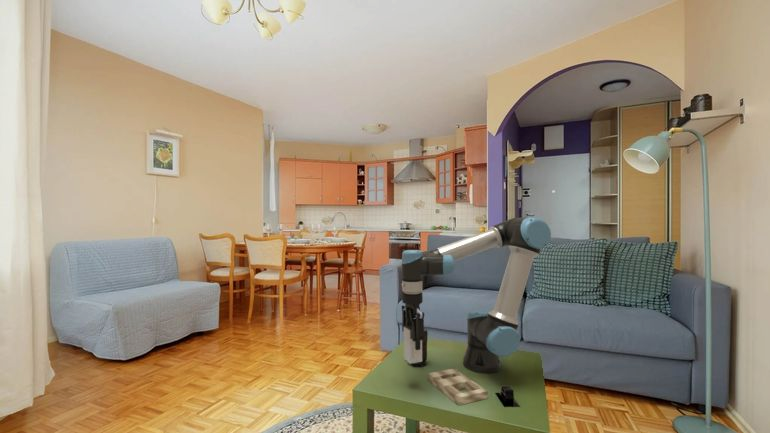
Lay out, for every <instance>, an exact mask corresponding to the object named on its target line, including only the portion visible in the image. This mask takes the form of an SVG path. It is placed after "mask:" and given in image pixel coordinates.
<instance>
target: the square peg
mask: <svg viewBox="0 0 770 433" xmlns="http://www.w3.org/2000/svg"><path fill="white" fill-rule="evenodd" d="M413 339H414V335H413V327H412V326H404V332H403V359H404V360H405V361H406V363H409V365H411V364H412V363H417V362H422V340H421V341H420V354H421V358H417V359H413V341H412V340H413Z"/></svg>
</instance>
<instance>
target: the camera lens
mask: <svg viewBox="0 0 770 433" xmlns="http://www.w3.org/2000/svg"><path fill="white" fill-rule="evenodd" d="M428 334H429V333H428V329H427V327H425V326H424V340H422V362H417V363H412V364H410V366H412V367H416V368H417V367H418V368H419V367H425V365H426V363H427V360H428V358H427V357H428Z"/></svg>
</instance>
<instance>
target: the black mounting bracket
mask: <svg viewBox="0 0 770 433" xmlns="http://www.w3.org/2000/svg"><path fill="white" fill-rule="evenodd" d="M500 386H501V387H500V392H494V394H495V396H496V397H497V398H498V400H499V402H500V403H501V405H502V406H503V407H504V408H521V405H520V404H519V403H518V401H517V399H515V396H514V394H515V393H514V389H513V388H512V387H511V385H508V384H507V385H505V384H504V385H502V384H501V385H500Z"/></svg>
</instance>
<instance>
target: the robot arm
mask: <svg viewBox="0 0 770 433" xmlns="http://www.w3.org/2000/svg"><path fill="white" fill-rule="evenodd" d="M551 237H552V232H551V229H550V227H549V225H548V224H547V222H546V221H545V220H544V219H541V218H539V217H533V216H528V217H513V218H512V217H511V218H509V219H507V220H505V221H504V220H503V221H502V222H500V223H497V224H494V225H492V226H490V227H489V228H488V229H487V230H485V231H482V232H479V233H476V234H473V235H471V236H467V237H465V238H463V239H462V238H461V239H460V240H456V241H454V242H450V243H448V244H446V245H442V246H439V247H437V248H434V249H431V250H428V251H427V250H425V251H421V250H420V249H406V250H403V251H402V253H401V262H400V263H401V282H402V283H401V290H402V293H401V298H402V299H401V302H402V303H403V304H405V305H401V311H402V313H401V314H402V316H401V318H402V320H401V321H402V324H401V326H402V330H401V331H402V332H403V333H404V326H412V327H413V335H414V339H413V340H412V341H413V359H417V358H421V354H420V341H421V340H424V327H425V324H424V323H425V322H424V320H425V319H424V318H425V312H424V311H423V312H421V309H420V305H421V304H422V303H423V276H426V277H427V276H446V275H452V274H453V273H454V271H455V262H457V261H459V260H462V259H465V258H468V257H470V256H473V255H476V254H479V253H482V252H484V251H487V250H490V249H492V248H498V249H499V248H502V247H506V246H508V249H509V250H510V254H509V257H508V260H507V264H506V267H505V271H504V275H503V277H502V281H501V283H500V284H501V285H500V288H499V289H498V290H499V291H498V294H497V297H496V300H495V303H494V307H493V309H492V310H487V309H484V310H483V309H477V310H476V309H474V310H470V311H468V313H467V319H466V320H467V347H466V348H465V352H464V356H463V359H462V363H463V366H464V367H465V368H466V369H467V370H470V371H472V372H475V373H482V374H489V373H490V374H492V373H496V372H497V373H498V372H499V371H500V370H501V360H500V358H499V357H509V356H511V355H513V354H514V353H515V352H516V351H517V350H518V349H519V347H520V344H521V338H520V335H519V334H520V333H519V332H518V328H519V325H520V324H519V321H518V320H517V316H518V313H519V309H520V306H521V302H522V299H523V296H524V292H525V288H526V287H527V286H526V285H527V282H528V279H529V276H530V273H531V272H530V271H531V268H532V264H533V261H534V259H535V258H537V257H539V256H540V253H541V250H542V249H543V248H545V247H547V246H548V245H549V243H550V241H551Z"/></svg>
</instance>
